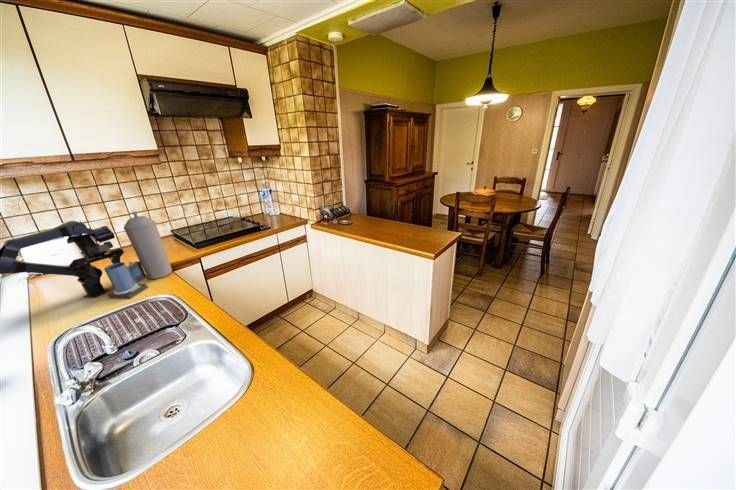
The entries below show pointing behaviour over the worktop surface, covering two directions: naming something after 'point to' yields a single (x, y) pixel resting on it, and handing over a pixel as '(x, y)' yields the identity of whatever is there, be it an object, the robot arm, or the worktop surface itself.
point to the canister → (148, 246)
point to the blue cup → (119, 277)
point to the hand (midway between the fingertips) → (110, 273)
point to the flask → (136, 271)
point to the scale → (128, 292)
